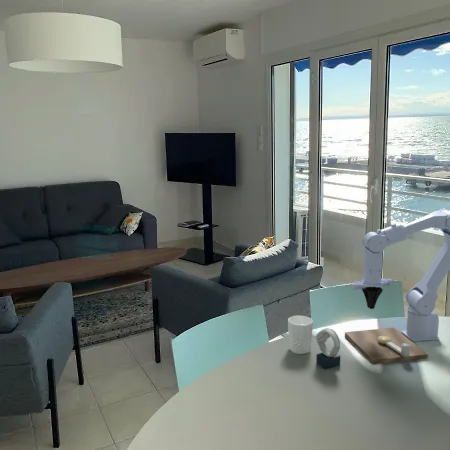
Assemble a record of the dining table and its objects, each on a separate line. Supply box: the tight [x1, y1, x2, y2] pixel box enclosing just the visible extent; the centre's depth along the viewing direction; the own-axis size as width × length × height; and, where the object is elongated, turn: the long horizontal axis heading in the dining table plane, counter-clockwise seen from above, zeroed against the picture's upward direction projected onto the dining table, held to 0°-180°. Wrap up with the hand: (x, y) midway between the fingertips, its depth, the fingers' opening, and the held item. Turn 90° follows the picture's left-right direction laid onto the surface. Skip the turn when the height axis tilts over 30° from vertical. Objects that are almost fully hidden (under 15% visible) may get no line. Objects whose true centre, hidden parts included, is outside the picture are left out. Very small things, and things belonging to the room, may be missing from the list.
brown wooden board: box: [344, 327, 429, 365], centre depth 152 cm, size 18×20×2 cm
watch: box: [315, 328, 341, 370], centre depth 141 cm, size 6×8×11 cm
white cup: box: [287, 315, 314, 355], centre depth 151 cm, size 8×8×10 cm
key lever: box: [378, 336, 410, 357], centre depth 147 cm, size 13×4×3 cm, turn 19°
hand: (370, 307), depth 158 cm, fingers closed
